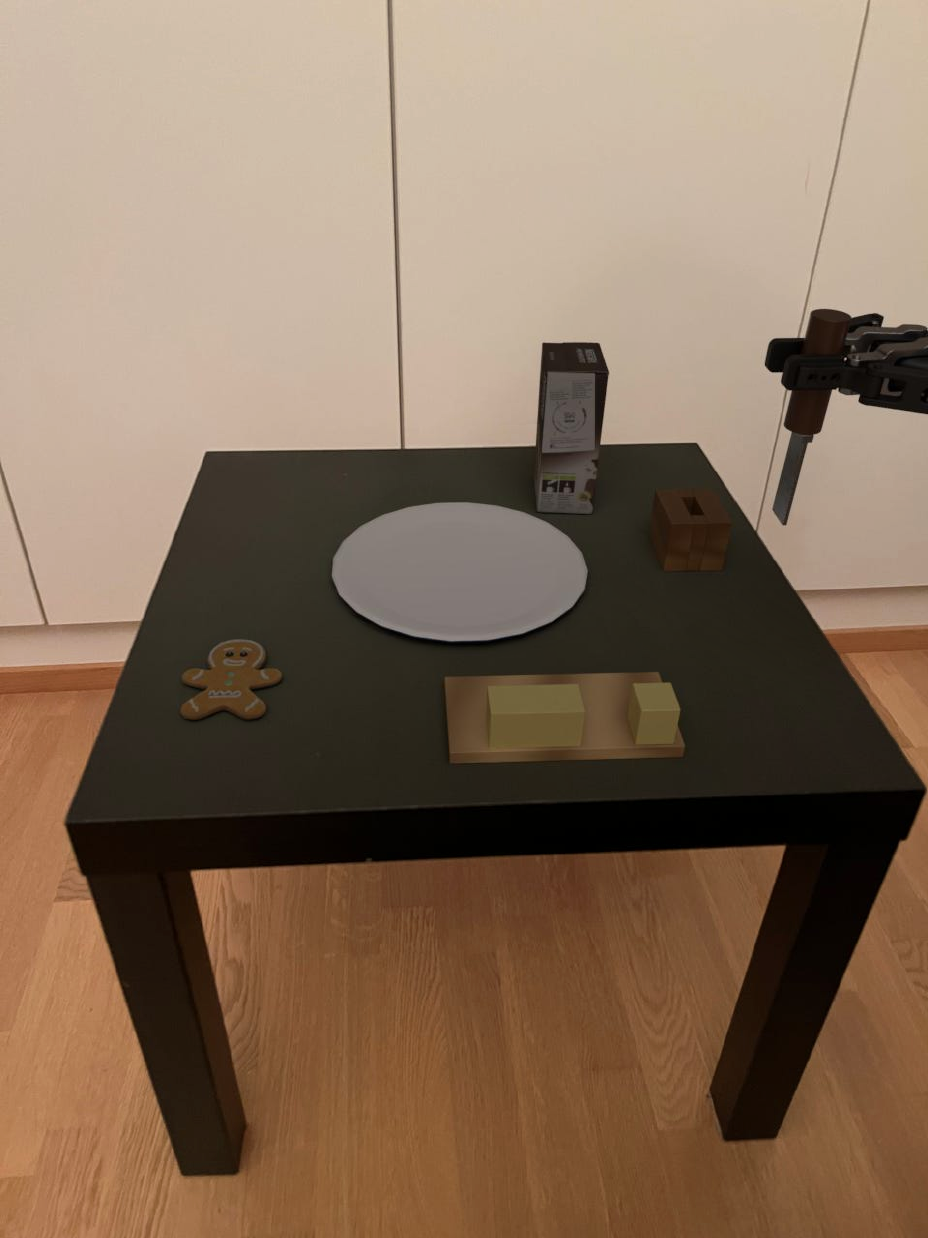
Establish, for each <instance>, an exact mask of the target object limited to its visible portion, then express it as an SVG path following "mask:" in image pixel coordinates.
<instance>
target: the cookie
mask: <svg viewBox="0 0 928 1238" xmlns="http://www.w3.org/2000/svg"><path fill="white" fill-rule="evenodd" d="M266 662H267V654H266V650H265V648H264V647H263V645H261V644H260V643H258V642H256V641H254V640H250V639H230V640H226V641H223V642H220V643H219V644H217V645H216V646H214V647H213V648H212V649H211V650H210V652H209V654H208V655H207V658H206V665H207V667H208V668H209V669H202V668H190V669H187V670H186V671H184V673H183V674H182V675H181V681H182V683H183V684H184V685H186V686H187V687H188V686H189V687H192V688H196V689H200V690H203V691H201V692H200V693H198V694H197V695H195V696H194V697H192V698H190V699H188V700H186V702H184V703H183V704H182V706H181V707H180V709H179V712H180V715H181V716H182V718H184V719H186V720H192V721H196V720H202V719H204V718H207V717H209V716H211V715H213V714H216V713H218V712H221V711H227V712H229V713H231V714H233V715H235V716H236V717H238V718H240V719H243V720H247V721H250V720H256V719H259V718H261V717H263V716H264V714H265V713H266V712H267V706H266V704H265V703H264V701H263V700H262V699H261V698H260V697H258V696H257V695H256V694H255V693H254V692H253V691H254V690H258V689H263V688H268V687H272V686H275V685H277V684H279V683H280V682H281V681H282V679H283V674H282V672H281V671H280V670H279V669H277V668H269V667H268V668H264V669H262V668H263V667H264V666H265V664H266Z"/></svg>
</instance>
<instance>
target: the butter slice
mask: <svg viewBox="0 0 928 1238" xmlns="http://www.w3.org/2000/svg"><path fill="white" fill-rule="evenodd" d="M680 715H681V706H680V703H679V701H678V699H677V696H676V694H675V691H674V688H673V685H672V683H671V682H662V683H633V685H632V691H631V697H630V703H629V710H628V716H627V718H628V721H629V724H630V728H631V731H632V734H633V738H634V741H635V744H636V745H641V744H673V743H674V740H675V735H676V730H677V725H678V724H679V719H680ZM678 726H679V725H678Z"/></svg>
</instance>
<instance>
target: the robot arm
mask: <svg viewBox="0 0 928 1238" xmlns="http://www.w3.org/2000/svg"><path fill="white" fill-rule="evenodd" d="M851 318H852V319H851V322H850V326H849V330H848V334H847V337H846V341H845V345H844V348H843V352H842V355H841V354H814V355H800V354H801V350H802V346H803V342H804V338H805V337H775V338H772V339H771V340H770V341H769V343H768V345H767V349H766V353H765V359H764V367H765V368H766V370H767V371H768V372H770V373H772V374H773V373H775V374H776V373H778V374H779V373H780V374H781V373H782V374H781V380H780V382H781V386H783V388H785V389H786V390H787V391H788V392H789V391H790V392H791V391H795V390H832V391H836V390H837V392H838V393H840V394H842V395H844V396H858V401H857V402H858V403H859V404H861V405H863V406H867V407H873V408H874V407H875V408H881V409H886V410H887V409H889V410H896V411H901V412H909V413H913V414H914V413H916V414H922V415H928V327H927V326H926V325H922V324H915V323H914V324H911V323H902V324H900V325H898V326H896V327H895V326H893V327H892V326H883V322H884V319H885V316H884V315H882V314H879V313H877V312H873V313H867V314H862V315H859V316H853V317H851Z"/></svg>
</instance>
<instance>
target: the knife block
mask: <svg viewBox="0 0 928 1238" xmlns="http://www.w3.org/2000/svg"><path fill="white" fill-rule="evenodd" d="M732 527H733V522H732V520H731V517H730V516H729V514H728V513H727V511H726V509H725V507H724V506H723V504H722V502H721V500H720V499H719V497H718V495H717V494H716V492H715V490H714V489H713V488H668V489H667V488H666V489H664V488H663V489H661V488H660V489H656V488H655V490H654V496H653V501H652V507H651V515H650V521H649V528H648V534H647V537H648V538H649V541H650V543H651V546H652V548H653V550H654V552H655V555H656V558H657V560H658V563H659V565H660V566H661V567H660V568H661V569H662V572H699V571H700V572H709V571H710V572H712V571H713V572H714V571H716V572H717V571H719V572H720V571H723V569H724V565H725V560H726V554H727V550H728V545H729V540H730V535H731V530H732Z"/></svg>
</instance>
